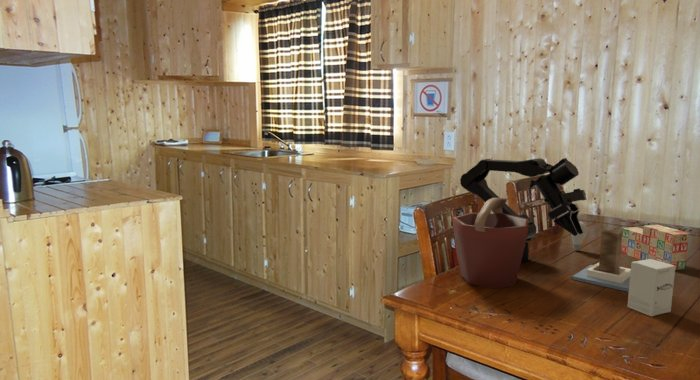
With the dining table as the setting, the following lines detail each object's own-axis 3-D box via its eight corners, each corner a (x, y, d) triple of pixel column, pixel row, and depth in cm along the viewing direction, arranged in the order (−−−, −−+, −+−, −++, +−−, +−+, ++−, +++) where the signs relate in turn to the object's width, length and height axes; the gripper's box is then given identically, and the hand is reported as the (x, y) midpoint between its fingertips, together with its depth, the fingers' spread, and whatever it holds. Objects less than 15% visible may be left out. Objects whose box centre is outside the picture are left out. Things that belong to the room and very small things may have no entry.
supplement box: (652, 317, 131) (656, 269, 128) (626, 307, 137) (630, 261, 135) (672, 312, 133) (676, 265, 131) (645, 302, 140) (649, 257, 138)
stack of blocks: (619, 253, 187) (622, 219, 185) (634, 251, 189) (637, 218, 186) (670, 271, 167) (673, 233, 164) (685, 269, 168) (689, 232, 166)
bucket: (481, 262, 176) (483, 190, 172) (544, 277, 161) (548, 198, 157) (438, 280, 159) (440, 200, 155) (503, 298, 144) (507, 210, 140)
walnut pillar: (598, 275, 159) (601, 231, 157) (603, 272, 162) (606, 228, 160) (614, 279, 156) (617, 233, 154) (618, 275, 159) (622, 231, 157)
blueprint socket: (572, 279, 159) (572, 270, 158) (590, 267, 170) (591, 258, 170) (629, 292, 148) (630, 281, 148) (644, 278, 159) (645, 268, 159)
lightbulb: (568, 252, 188) (569, 222, 186) (567, 247, 194) (569, 219, 192) (586, 253, 186) (588, 223, 184) (585, 249, 191) (587, 220, 189)
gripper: (568, 177, 156) (598, 222, 152) (579, 179, 172) (607, 220, 167) (536, 197, 161) (564, 241, 157) (549, 197, 177) (575, 237, 172)
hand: (579, 234), depth 163 cm, fingers open, 9 cm apart
